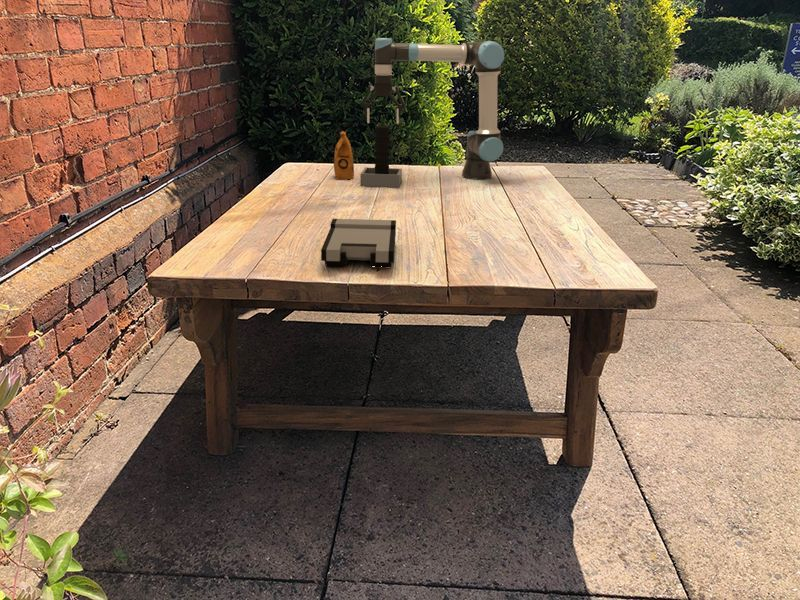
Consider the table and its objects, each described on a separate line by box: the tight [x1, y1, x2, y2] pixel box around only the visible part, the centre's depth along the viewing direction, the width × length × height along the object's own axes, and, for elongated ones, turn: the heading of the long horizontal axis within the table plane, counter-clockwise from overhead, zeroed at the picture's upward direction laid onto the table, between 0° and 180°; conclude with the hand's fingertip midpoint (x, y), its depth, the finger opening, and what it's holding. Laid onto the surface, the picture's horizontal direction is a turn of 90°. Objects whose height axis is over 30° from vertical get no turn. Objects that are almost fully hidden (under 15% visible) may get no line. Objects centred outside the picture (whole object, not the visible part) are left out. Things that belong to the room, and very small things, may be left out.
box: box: [359, 167, 403, 189], centre depth 321 cm, size 18×18×6 cm
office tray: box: [320, 218, 397, 268], centre depth 208 cm, size 21×32×8 cm, turn 179°
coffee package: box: [333, 130, 355, 180], centre depth 330 cm, size 10×12×22 cm
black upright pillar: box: [374, 124, 391, 174], centre depth 317 cm, size 10×26×10 cm
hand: (382, 123), depth 312 cm, fingers open, 13 cm apart
